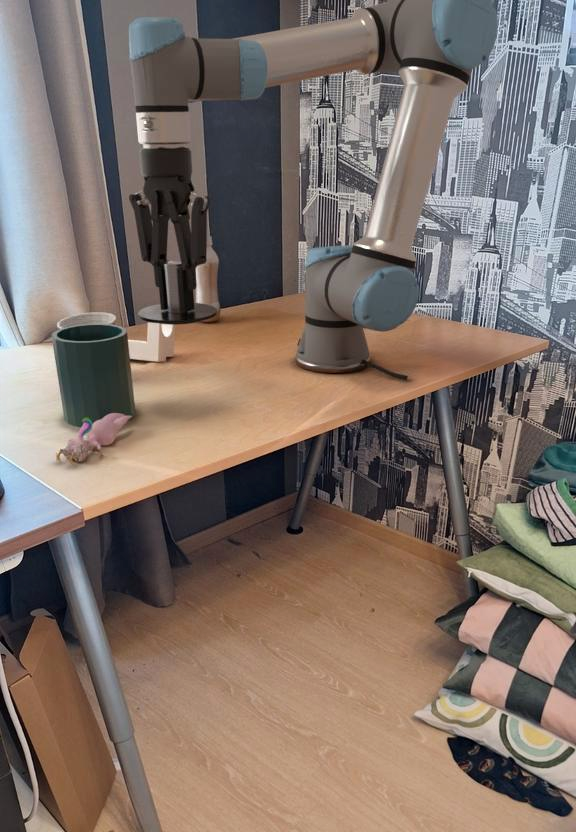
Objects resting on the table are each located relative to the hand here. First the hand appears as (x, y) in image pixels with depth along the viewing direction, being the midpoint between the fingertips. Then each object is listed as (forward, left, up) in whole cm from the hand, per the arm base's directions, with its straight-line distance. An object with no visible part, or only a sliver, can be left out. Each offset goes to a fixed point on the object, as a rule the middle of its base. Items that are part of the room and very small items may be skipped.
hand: (177, 309), depth 116 cm
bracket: (+27, -23, -18) cm, 39 cm away
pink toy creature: (+3, +19, -18) cm, 26 cm away
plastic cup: (+25, -6, -18) cm, 31 cm away
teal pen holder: (+11, +9, -17) cm, 23 cm away
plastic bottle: (+31, -56, -18) cm, 66 cm away
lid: (0, 0, -1) cm, 1 cm away
